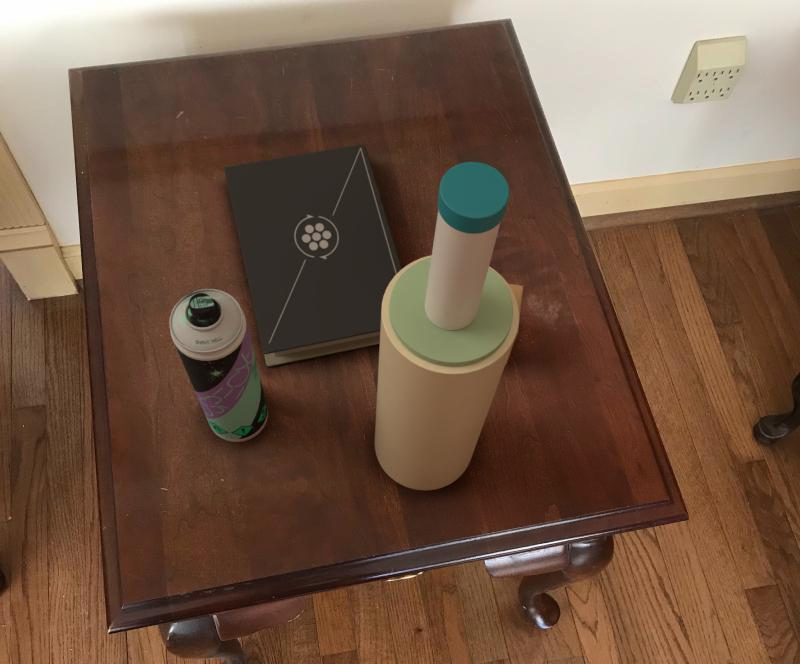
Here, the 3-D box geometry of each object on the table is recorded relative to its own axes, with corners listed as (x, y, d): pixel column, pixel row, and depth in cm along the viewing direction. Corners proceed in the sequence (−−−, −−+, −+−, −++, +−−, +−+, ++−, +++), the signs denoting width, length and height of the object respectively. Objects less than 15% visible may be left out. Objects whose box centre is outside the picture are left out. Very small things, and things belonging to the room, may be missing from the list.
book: (418, 337, 81) (420, 321, 78) (266, 368, 78) (263, 353, 76) (366, 162, 89) (366, 142, 86) (227, 185, 87) (223, 166, 84)
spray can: (195, 416, 76) (144, 305, 58) (238, 376, 78) (201, 256, 60) (238, 454, 75) (199, 352, 57) (280, 412, 77) (256, 300, 58)
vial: (421, 315, 55) (448, 146, 51) (475, 324, 55) (506, 155, 51) (411, 367, 45) (443, 160, 41) (477, 378, 45) (515, 172, 41)
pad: (447, 238, 56) (447, 233, 56) (536, 312, 54) (538, 307, 54) (363, 310, 54) (363, 306, 53) (454, 390, 52) (455, 386, 51)
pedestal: (421, 380, 79) (446, 230, 57) (493, 443, 76) (547, 312, 55) (354, 443, 76) (352, 310, 54) (425, 510, 74) (454, 401, 52)
